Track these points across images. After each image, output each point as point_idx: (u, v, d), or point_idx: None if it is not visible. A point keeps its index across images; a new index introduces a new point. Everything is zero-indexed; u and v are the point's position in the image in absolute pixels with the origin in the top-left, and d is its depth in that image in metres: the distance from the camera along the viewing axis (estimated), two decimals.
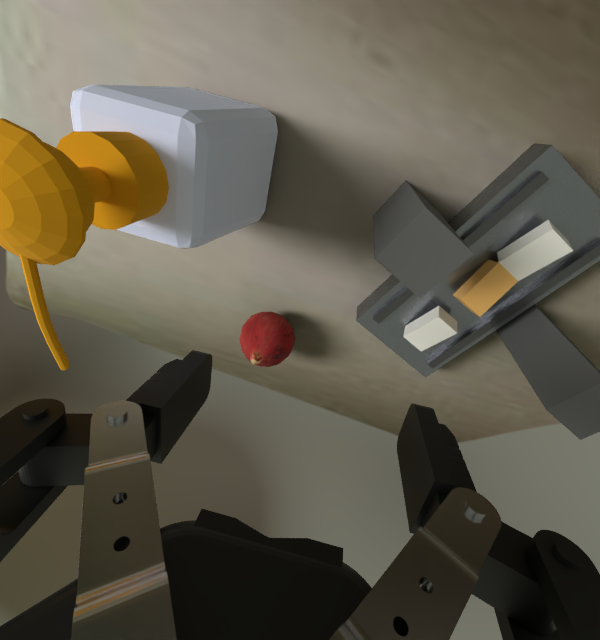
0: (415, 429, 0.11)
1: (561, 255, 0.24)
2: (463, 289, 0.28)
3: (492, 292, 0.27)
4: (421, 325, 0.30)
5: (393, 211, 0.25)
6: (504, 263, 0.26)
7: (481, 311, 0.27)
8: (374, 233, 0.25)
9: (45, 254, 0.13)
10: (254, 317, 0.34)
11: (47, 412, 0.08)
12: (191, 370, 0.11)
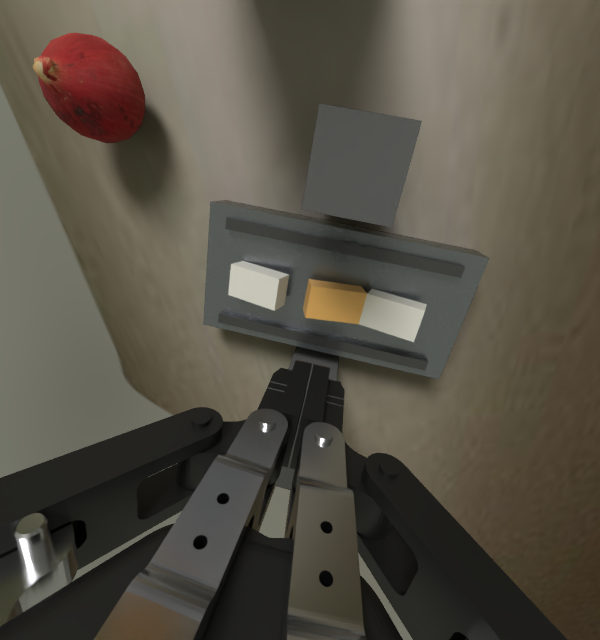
0: None
1: (403, 338, 0.23)
2: (321, 283, 0.23)
3: (335, 310, 0.23)
4: (257, 271, 0.23)
5: None
6: (369, 299, 0.23)
7: (311, 314, 0.23)
8: None
9: None
10: (111, 45, 0.20)
11: (207, 424, 0.09)
12: (305, 379, 0.12)
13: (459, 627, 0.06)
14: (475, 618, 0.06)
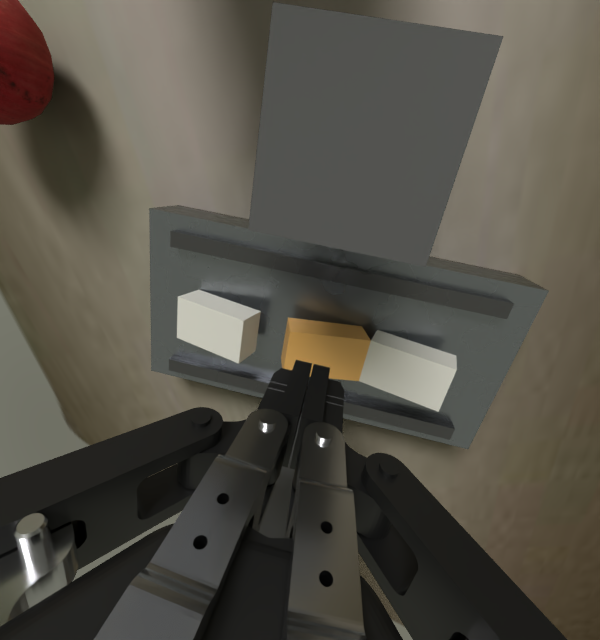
0: None
1: (423, 403, 0.16)
2: (306, 325, 0.16)
3: (326, 363, 0.16)
4: (214, 307, 0.16)
5: None
6: (373, 348, 0.16)
7: (291, 369, 0.16)
8: None
9: None
10: None
11: (207, 424, 0.09)
12: (305, 379, 0.12)
13: (459, 627, 0.06)
14: (475, 618, 0.06)
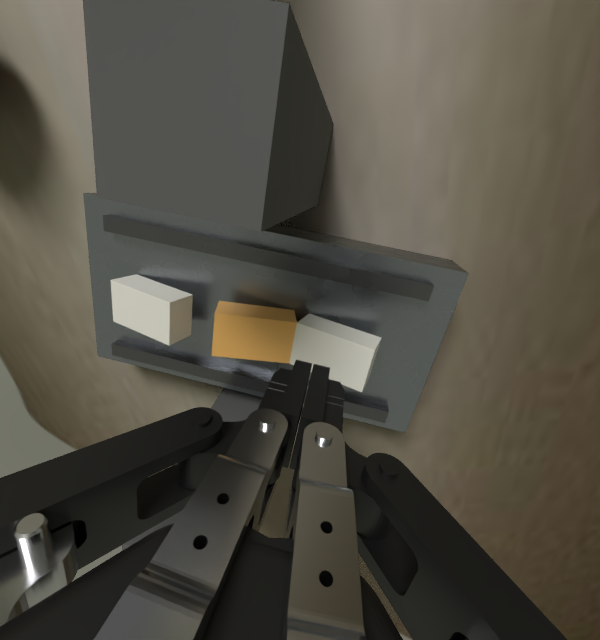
0: None
1: (348, 384, 0.16)
2: (234, 307, 0.16)
3: (254, 345, 0.16)
4: (144, 290, 0.16)
5: None
6: (300, 330, 0.16)
7: (219, 351, 0.16)
8: None
9: None
10: None
11: (207, 425, 0.09)
12: (305, 379, 0.12)
13: (459, 627, 0.06)
14: (475, 618, 0.06)
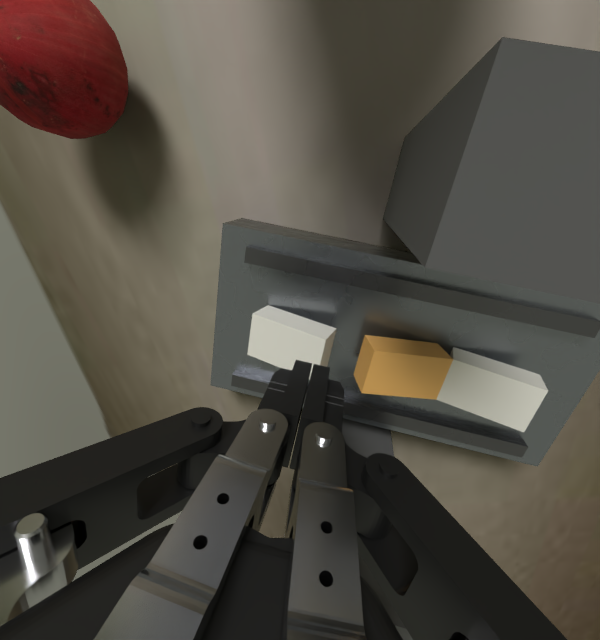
0: None
1: (506, 423, 0.16)
2: (385, 343, 0.16)
3: (405, 382, 0.16)
4: (291, 325, 0.16)
5: None
6: (455, 367, 0.16)
7: (370, 389, 0.16)
8: (432, 111, 0.11)
9: None
10: None
11: (207, 425, 0.09)
12: (305, 379, 0.12)
13: (459, 627, 0.06)
14: (475, 618, 0.06)
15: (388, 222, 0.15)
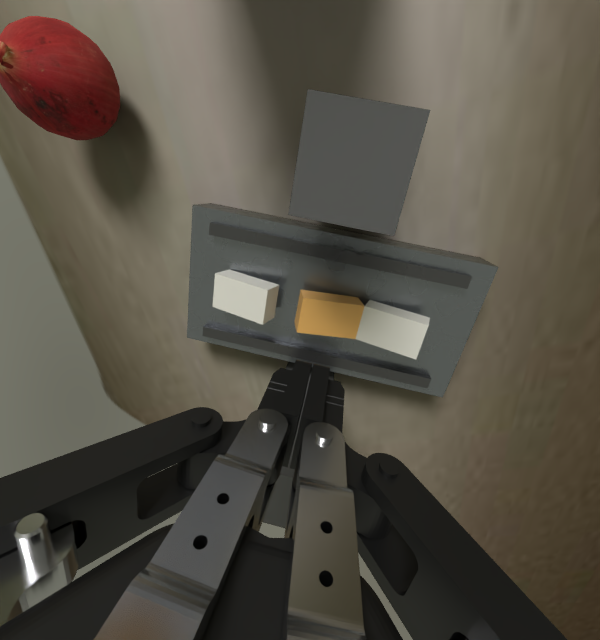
0: None
1: (404, 354, 0.21)
2: (314, 294, 0.21)
3: (330, 324, 0.21)
4: (244, 281, 0.21)
5: None
6: (366, 311, 0.21)
7: (303, 329, 0.21)
8: None
9: None
10: (78, 31, 0.18)
11: (207, 424, 0.09)
12: (305, 379, 0.12)
13: (459, 627, 0.06)
14: (475, 618, 0.06)
15: None
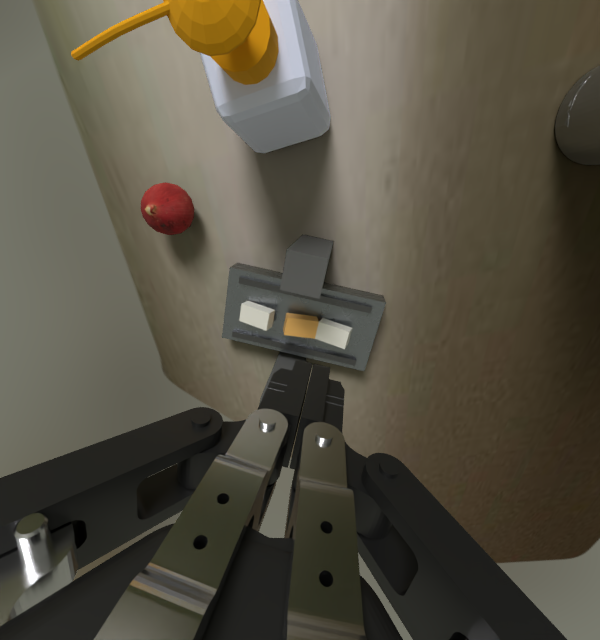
0: None
1: (339, 346, 0.41)
2: (293, 315, 0.41)
3: (301, 330, 0.41)
4: (256, 308, 0.40)
5: (314, 244, 0.36)
6: (320, 324, 0.40)
7: (287, 333, 0.40)
8: (296, 241, 0.36)
9: (183, 27, 0.17)
10: (179, 188, 0.37)
11: (207, 425, 0.09)
12: (305, 379, 0.12)
13: (459, 627, 0.06)
14: (475, 618, 0.06)
15: None
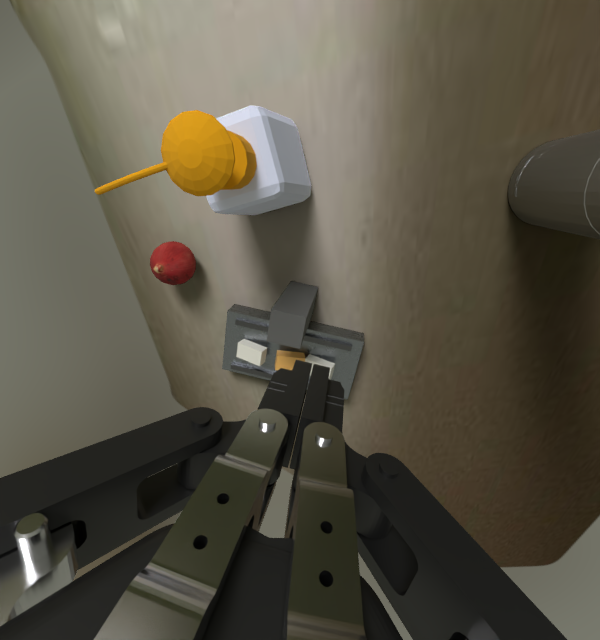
0: None
1: None
2: (283, 353, 0.46)
3: (290, 366, 0.46)
4: (251, 346, 0.46)
5: (298, 296, 0.42)
6: (306, 361, 0.46)
7: (278, 368, 0.46)
8: (282, 294, 0.41)
9: (177, 179, 0.23)
10: (182, 247, 0.43)
11: (207, 425, 0.09)
12: (305, 379, 0.12)
13: (459, 627, 0.06)
14: (475, 618, 0.06)
15: None
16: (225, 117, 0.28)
